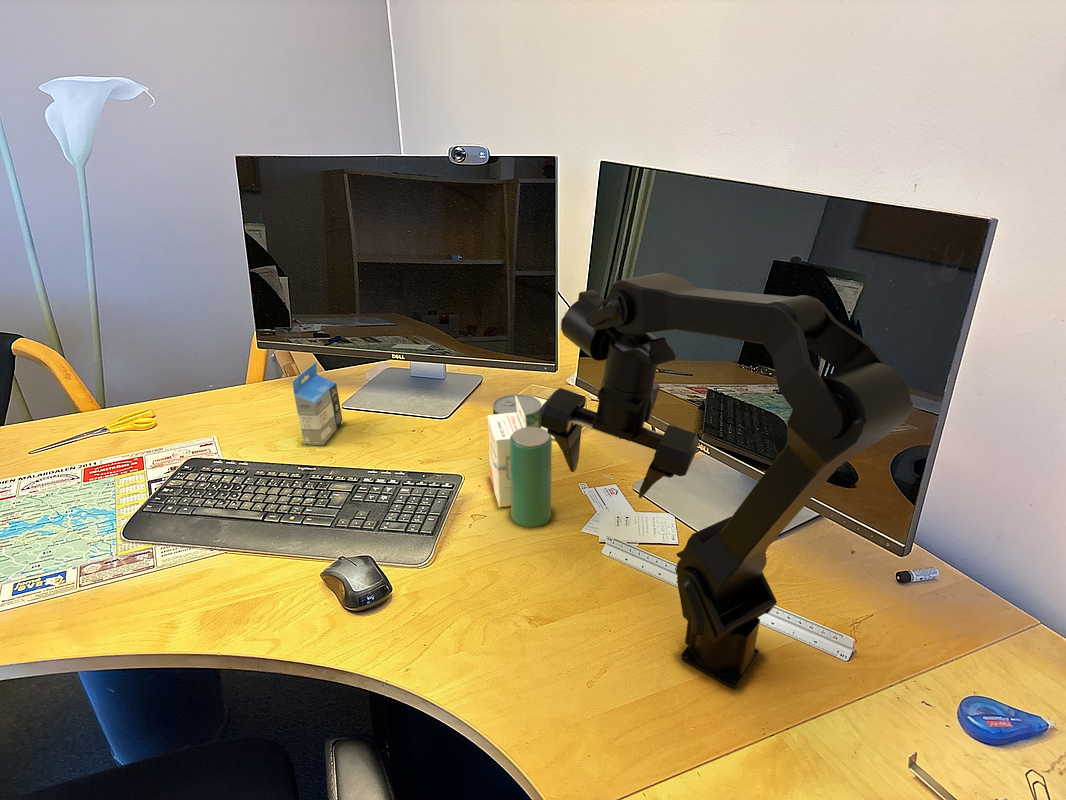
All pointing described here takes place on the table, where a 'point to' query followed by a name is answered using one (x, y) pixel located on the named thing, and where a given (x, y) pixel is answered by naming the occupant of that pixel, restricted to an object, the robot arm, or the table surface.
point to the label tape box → (317, 406)
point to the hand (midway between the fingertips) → (606, 482)
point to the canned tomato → (527, 403)
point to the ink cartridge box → (503, 451)
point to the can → (530, 476)
